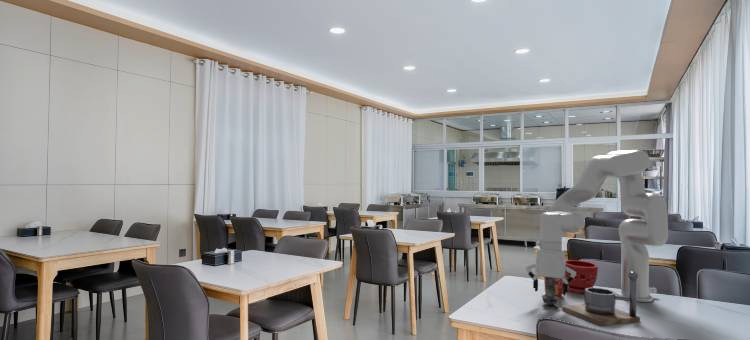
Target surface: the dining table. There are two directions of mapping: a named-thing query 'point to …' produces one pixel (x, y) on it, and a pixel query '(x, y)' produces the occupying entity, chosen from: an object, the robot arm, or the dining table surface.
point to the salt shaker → (550, 294)
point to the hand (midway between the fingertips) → (550, 292)
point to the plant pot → (581, 275)
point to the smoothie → (557, 286)
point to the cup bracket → (606, 305)
